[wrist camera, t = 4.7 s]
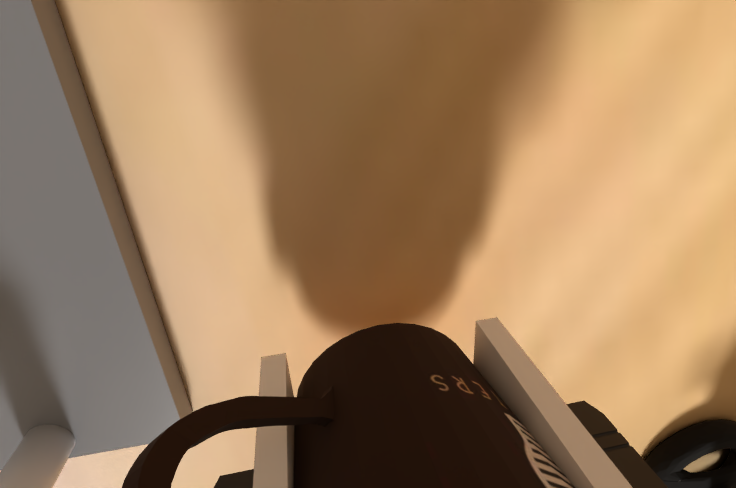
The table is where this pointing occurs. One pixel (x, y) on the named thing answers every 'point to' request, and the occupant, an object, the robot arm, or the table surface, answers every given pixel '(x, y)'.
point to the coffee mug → (378, 421)
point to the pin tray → (68, 273)
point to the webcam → (696, 456)
